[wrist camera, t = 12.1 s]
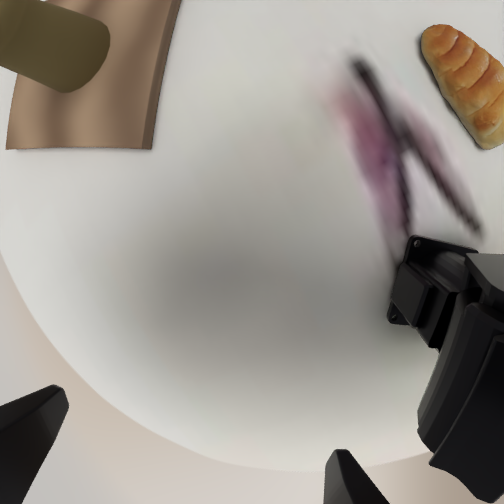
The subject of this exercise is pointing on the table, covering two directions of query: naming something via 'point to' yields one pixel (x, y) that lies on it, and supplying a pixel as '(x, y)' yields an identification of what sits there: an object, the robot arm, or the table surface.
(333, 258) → the table surface
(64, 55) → the olive rounded upright piece
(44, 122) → the walnut board
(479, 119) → the pastry
